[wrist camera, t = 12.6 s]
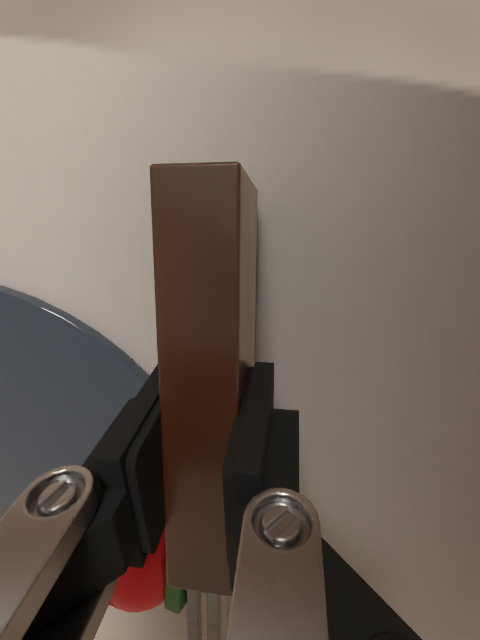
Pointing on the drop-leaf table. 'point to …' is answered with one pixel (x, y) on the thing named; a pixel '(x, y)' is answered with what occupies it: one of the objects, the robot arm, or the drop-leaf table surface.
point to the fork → (201, 361)
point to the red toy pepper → (148, 586)
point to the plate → (54, 390)
